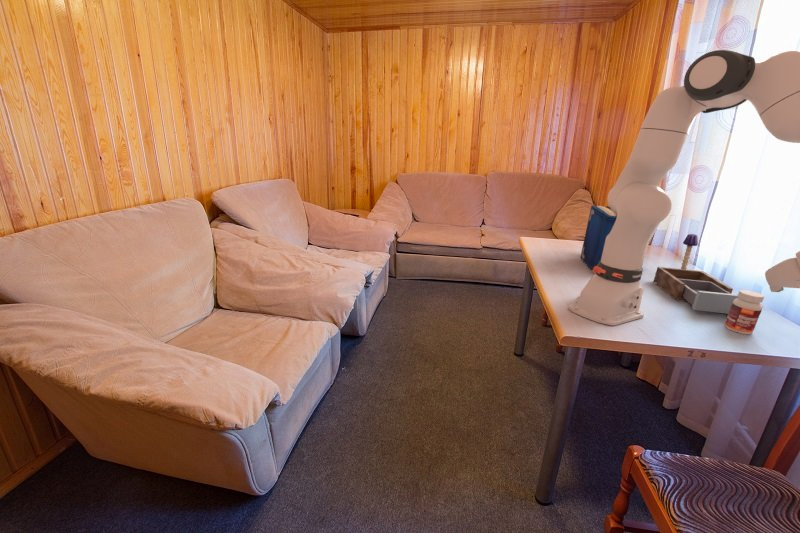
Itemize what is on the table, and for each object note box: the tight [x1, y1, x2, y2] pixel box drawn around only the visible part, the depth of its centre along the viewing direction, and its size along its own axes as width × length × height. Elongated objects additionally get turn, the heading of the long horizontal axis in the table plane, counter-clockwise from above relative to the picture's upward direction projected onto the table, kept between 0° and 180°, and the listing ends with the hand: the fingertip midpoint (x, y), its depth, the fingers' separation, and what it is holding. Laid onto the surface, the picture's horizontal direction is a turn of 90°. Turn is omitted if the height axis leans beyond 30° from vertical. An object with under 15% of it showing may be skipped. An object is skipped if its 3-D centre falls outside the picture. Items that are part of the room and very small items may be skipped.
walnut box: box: [653, 266, 734, 302], centre depth 129 cm, size 18×15×6 cm
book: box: [579, 204, 617, 272], centre depth 149 cm, size 22×7×25 cm, turn 168°
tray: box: [677, 278, 738, 314], centre depth 119 cm, size 19×15×6 cm
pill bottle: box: [724, 289, 765, 335], centre depth 102 cm, size 6×6×11 cm
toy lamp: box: [680, 233, 699, 270], centre depth 146 cm, size 5×5×17 cm
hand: (795, 290), depth 88 cm, fingers open, 8 cm apart
